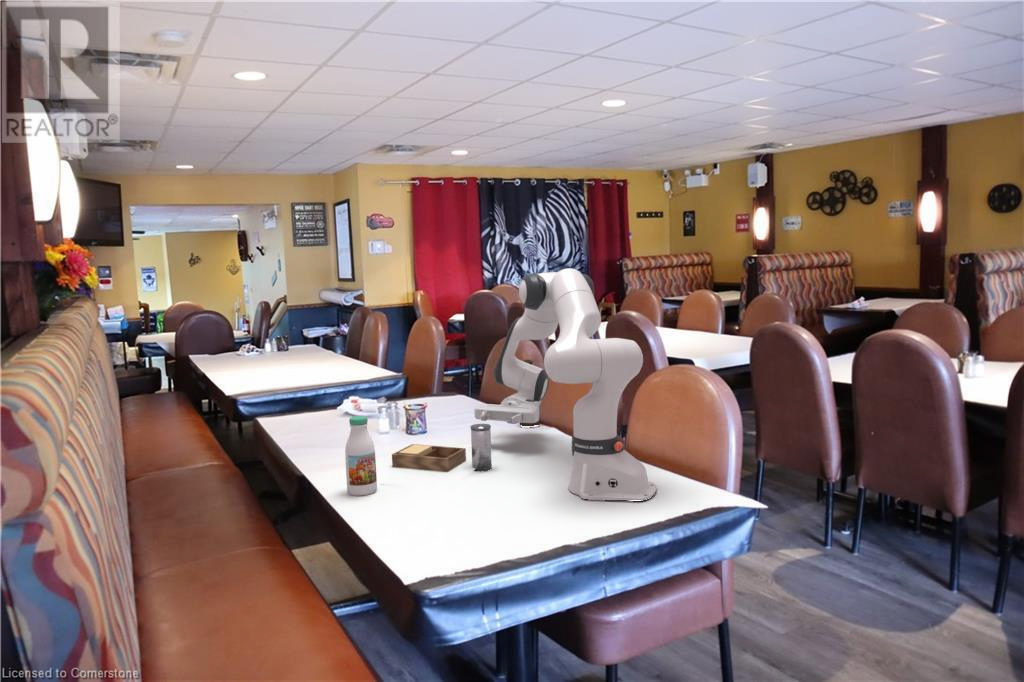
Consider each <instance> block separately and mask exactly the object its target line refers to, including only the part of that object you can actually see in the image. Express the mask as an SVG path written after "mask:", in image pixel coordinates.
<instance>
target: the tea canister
mask: <svg viewBox="0 0 1024 682" xmlns="http://www.w3.org/2000/svg"><path fill="white" fill-rule="evenodd" d="M491 426H492V425H491V424H489V423H476V424H475V423H474V424H472V425H470V438H471V439H470V440H471V441H470V442H471V443H470V444H471V466H472V468H473V469H474V470H473V471H474V472H477V471H480V473H481V471H484V472H488V470H489V471H491V470H492V468H493V466H492V464H493V463H492V438H491V437H492V436H491V434H492V433H491V432H492V431H491V428H492V427H491ZM490 469H491V470H490Z"/></svg>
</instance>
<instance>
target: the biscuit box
mask: <svg viewBox="0 0 1024 682" xmlns="http://www.w3.org/2000/svg"><path fill="white" fill-rule="evenodd" d="M425 445H426V444H418V445H413V446H411V447H409V448H407V449H405V450H403V451H401V452H399V454H404V455H415V456H423V455H424V454H426V453H428V452H430V451H432V446H433V445H430V446H425Z"/></svg>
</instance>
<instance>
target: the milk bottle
mask: <svg viewBox="0 0 1024 682" xmlns="http://www.w3.org/2000/svg"><path fill="white" fill-rule="evenodd" d="M348 423H349V427H350V432H349V436H348V439H347V442H346V444H345V450H344V451H345V458H344V459H345V474H346V489H347V493H348V494H349V495H350V496H359V497H360V496H361V497H362V496H368V495H371V494H374V493H376V491H377V490H378V482H377V481H378V480H377V462H376V460H377V459H376V449H375V444H374V441H373V438H372V436H371V435H370V433H369V430H368V427H367V426H368V425H369V424H368V417H367V416H365V415H355V416H352V417H350V418H349V421H348Z"/></svg>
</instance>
